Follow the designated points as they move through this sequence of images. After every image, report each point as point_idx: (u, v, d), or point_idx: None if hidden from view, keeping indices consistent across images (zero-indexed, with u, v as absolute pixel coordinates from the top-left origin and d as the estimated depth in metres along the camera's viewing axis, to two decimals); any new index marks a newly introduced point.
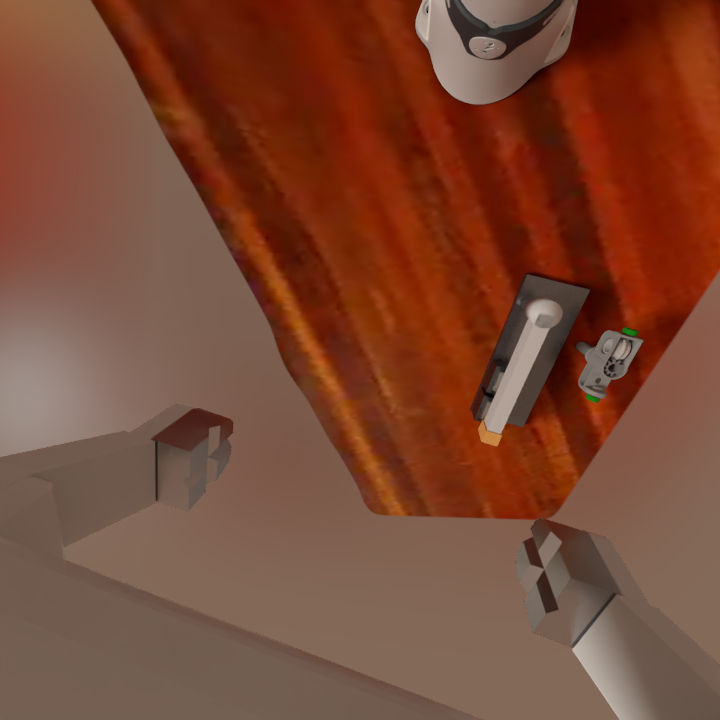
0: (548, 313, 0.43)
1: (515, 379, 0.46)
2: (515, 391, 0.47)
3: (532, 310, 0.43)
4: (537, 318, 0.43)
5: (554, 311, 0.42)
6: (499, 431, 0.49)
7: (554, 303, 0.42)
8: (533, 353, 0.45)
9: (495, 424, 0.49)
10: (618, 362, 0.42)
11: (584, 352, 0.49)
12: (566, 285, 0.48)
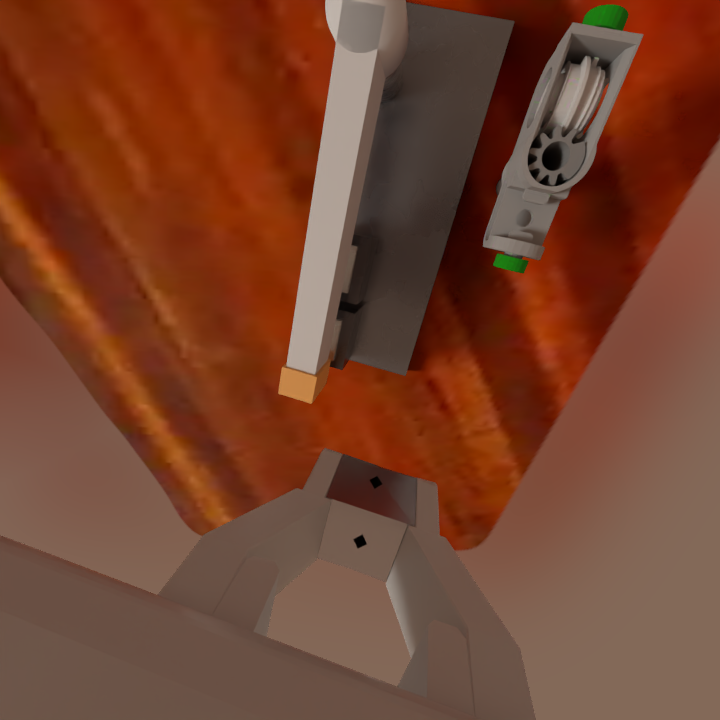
0: None
1: (320, 226, 0.18)
2: (326, 260, 0.19)
3: None
4: (341, 19, 0.15)
5: None
6: (311, 368, 0.21)
7: None
8: (350, 141, 0.17)
9: (300, 351, 0.21)
10: (569, 135, 0.14)
11: None
12: (459, 15, 0.20)
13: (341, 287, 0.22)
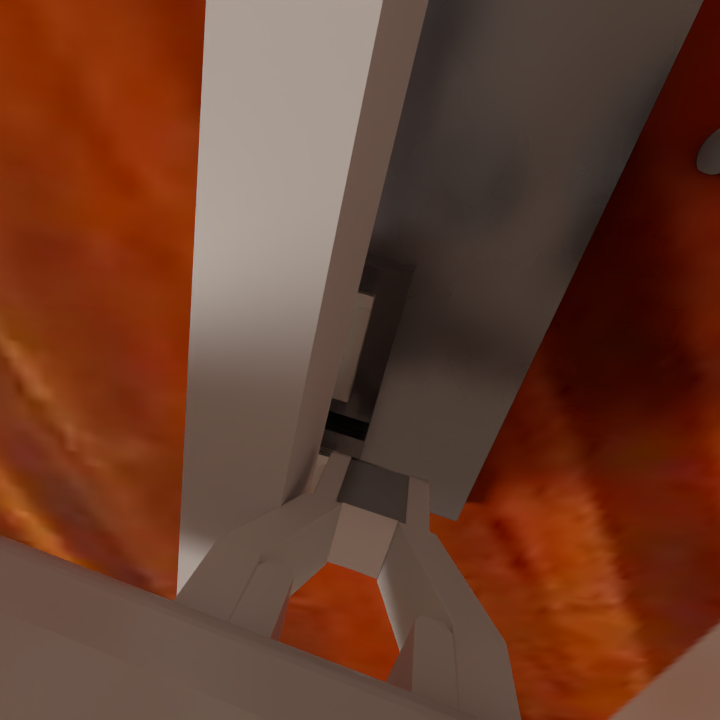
0: None
1: (240, 255, 0.05)
2: (268, 376, 0.05)
3: None
4: None
5: None
6: None
7: None
8: None
9: None
10: None
11: None
12: None
13: (328, 404, 0.08)
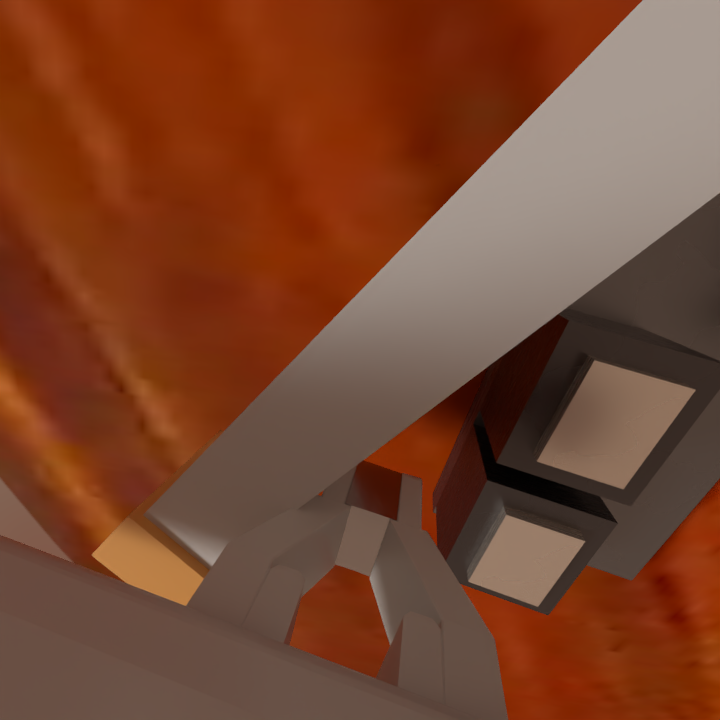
0: None
1: (523, 210, 0.04)
2: (448, 344, 0.05)
3: None
4: None
5: None
6: (212, 556, 0.07)
7: None
8: None
9: (200, 508, 0.07)
10: None
11: None
12: None
13: None
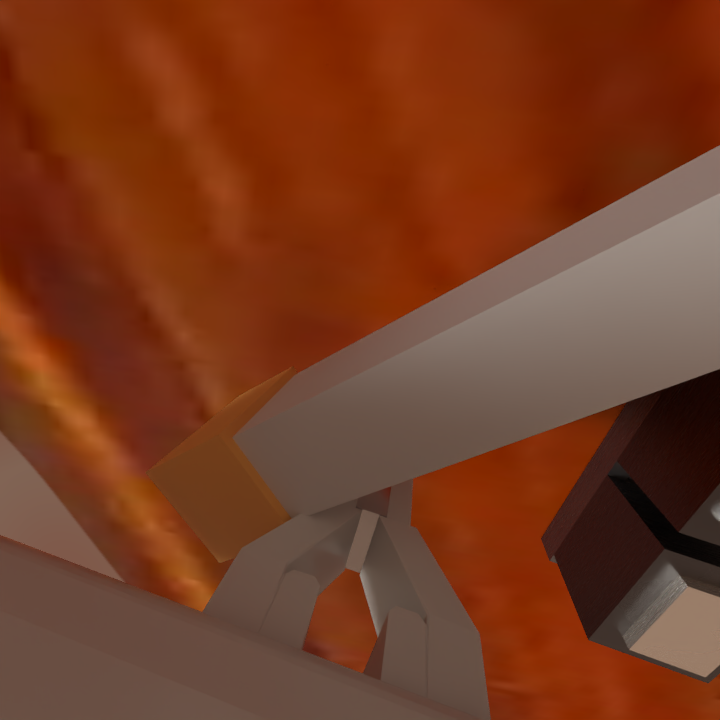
0: None
1: None
2: None
3: None
4: None
5: None
6: (302, 501, 0.06)
7: None
8: None
9: (314, 443, 0.06)
10: None
11: None
12: None
13: None
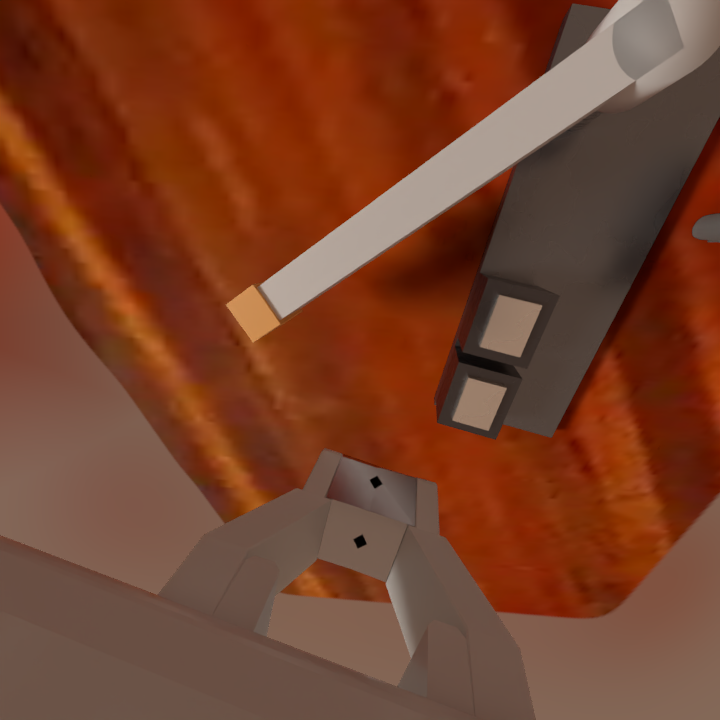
0: (683, 14, 0.11)
1: (416, 190, 0.14)
2: (390, 228, 0.15)
3: None
4: (639, 6, 0.11)
5: (701, 23, 0.11)
6: (282, 311, 0.17)
7: None
8: (523, 140, 0.13)
9: (285, 285, 0.17)
10: None
11: None
12: None
13: (373, 259, 0.18)
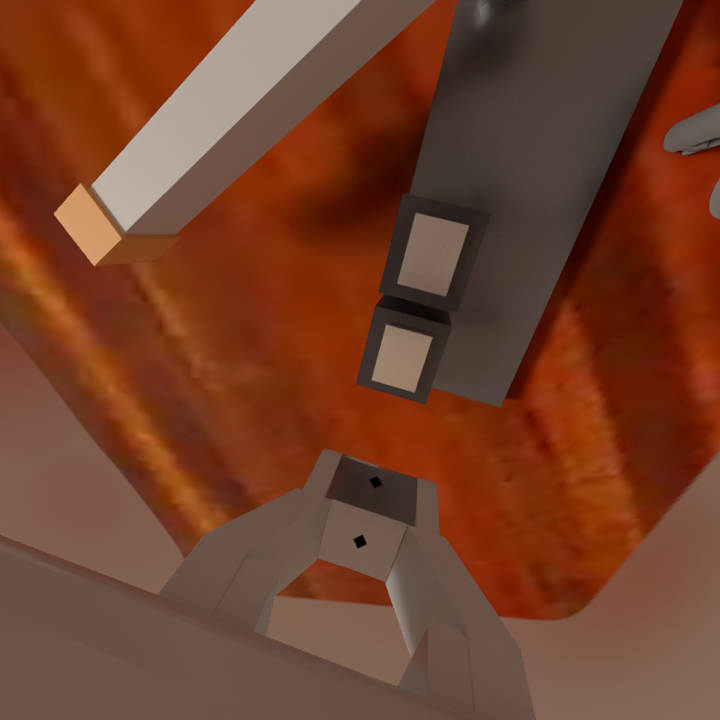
0: None
1: (265, 29, 0.10)
2: (239, 91, 0.11)
3: None
4: None
5: None
6: (123, 221, 0.13)
7: None
8: None
9: (121, 184, 0.13)
10: None
11: (714, 121, 0.13)
12: None
13: (251, 160, 0.14)
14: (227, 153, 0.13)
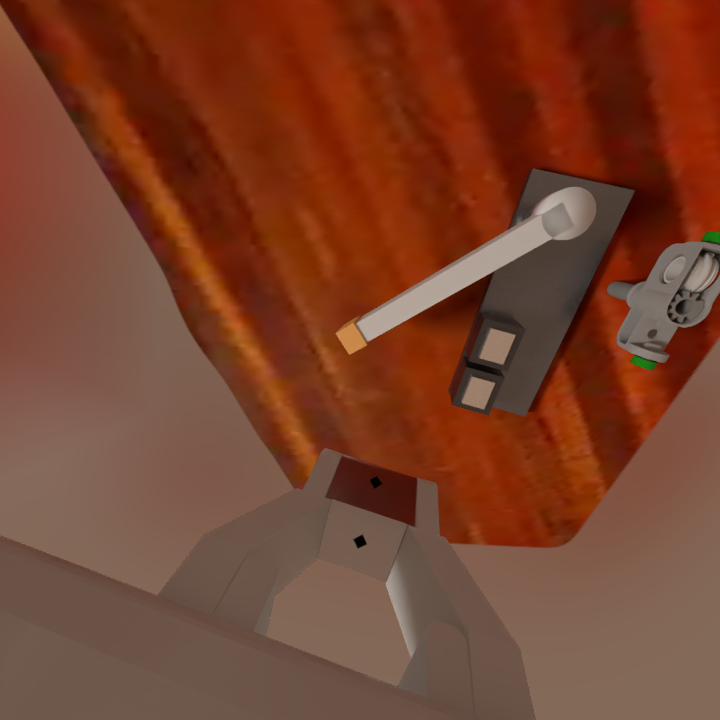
0: (572, 213, 0.24)
1: (447, 279, 0.28)
2: (433, 297, 0.28)
3: (557, 191, 0.24)
4: (553, 208, 0.24)
5: (580, 217, 0.24)
6: (368, 337, 0.31)
7: (593, 203, 0.24)
8: (501, 259, 0.26)
9: (371, 323, 0.30)
10: (694, 296, 0.24)
11: (624, 294, 0.31)
12: (596, 184, 0.30)
13: None
14: None
